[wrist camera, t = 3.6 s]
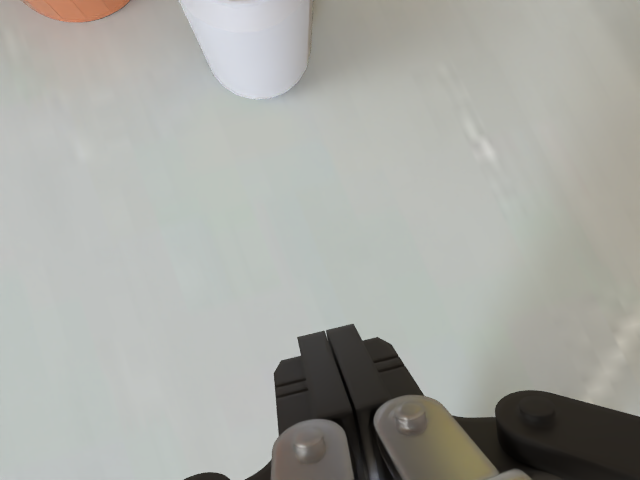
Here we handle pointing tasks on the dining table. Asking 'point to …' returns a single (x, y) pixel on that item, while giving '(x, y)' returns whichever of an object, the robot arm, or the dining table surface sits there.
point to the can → (253, 42)
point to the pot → (75, 9)
